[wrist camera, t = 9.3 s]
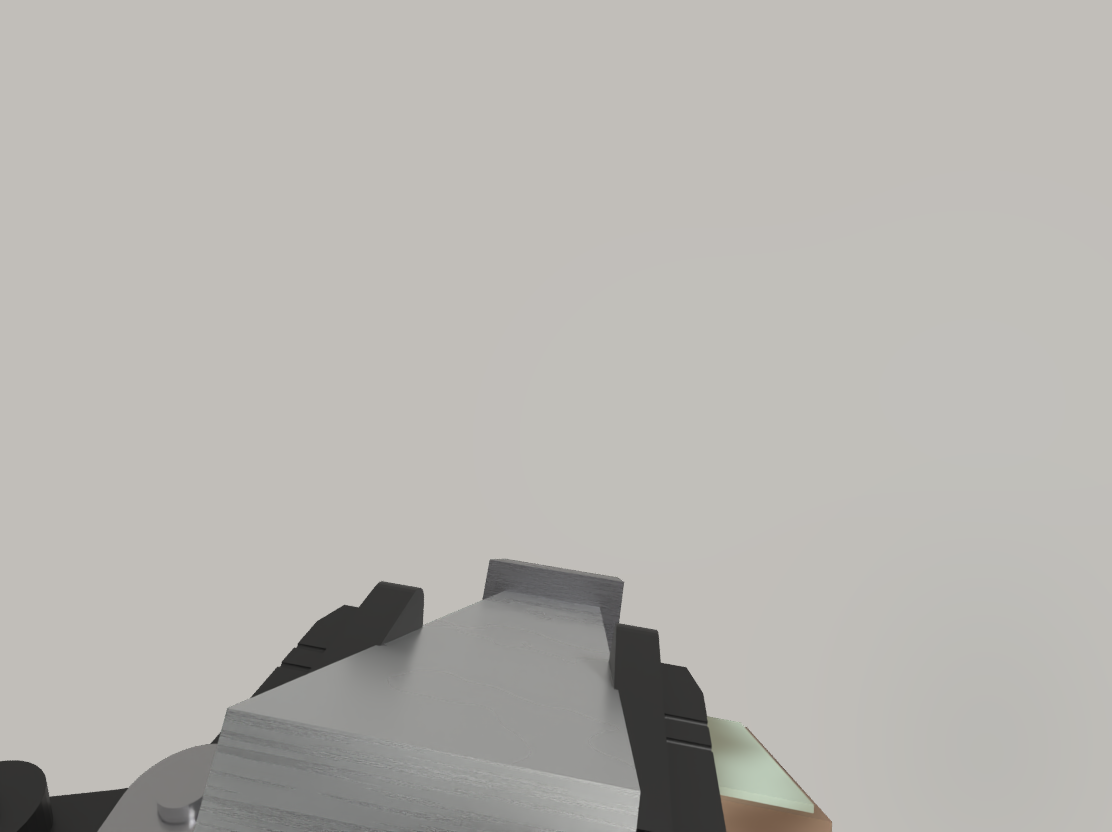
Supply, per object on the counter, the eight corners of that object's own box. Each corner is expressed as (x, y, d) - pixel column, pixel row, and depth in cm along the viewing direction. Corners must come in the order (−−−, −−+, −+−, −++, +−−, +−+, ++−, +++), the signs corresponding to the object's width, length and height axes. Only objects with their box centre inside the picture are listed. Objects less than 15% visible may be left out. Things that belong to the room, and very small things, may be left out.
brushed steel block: (9, 1132, 4) (184, 572, 5) (488, 654, 23) (505, 558, 24) (700, 1332, 4) (746, 673, 4) (605, 676, 23) (618, 577, 24)
